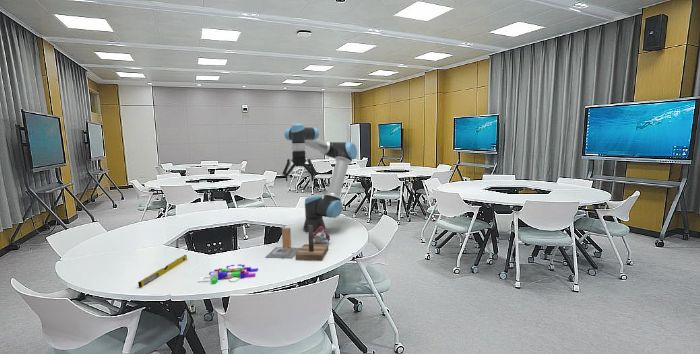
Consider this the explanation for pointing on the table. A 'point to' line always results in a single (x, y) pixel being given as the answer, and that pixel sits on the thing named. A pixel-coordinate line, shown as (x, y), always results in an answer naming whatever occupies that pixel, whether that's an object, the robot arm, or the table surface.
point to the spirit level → (162, 271)
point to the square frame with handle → (284, 244)
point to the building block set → (229, 274)
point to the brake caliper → (321, 236)
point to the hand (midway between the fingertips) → (300, 186)
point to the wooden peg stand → (311, 249)
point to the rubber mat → (283, 252)
